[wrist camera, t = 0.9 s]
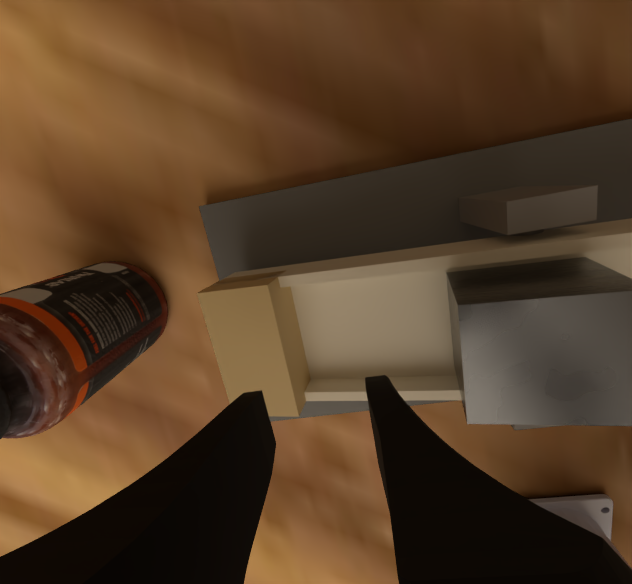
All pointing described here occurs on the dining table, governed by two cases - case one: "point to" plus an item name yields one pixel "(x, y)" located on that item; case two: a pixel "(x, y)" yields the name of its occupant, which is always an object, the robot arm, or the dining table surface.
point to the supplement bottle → (72, 340)
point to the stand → (429, 209)
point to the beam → (369, 316)
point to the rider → (543, 343)
